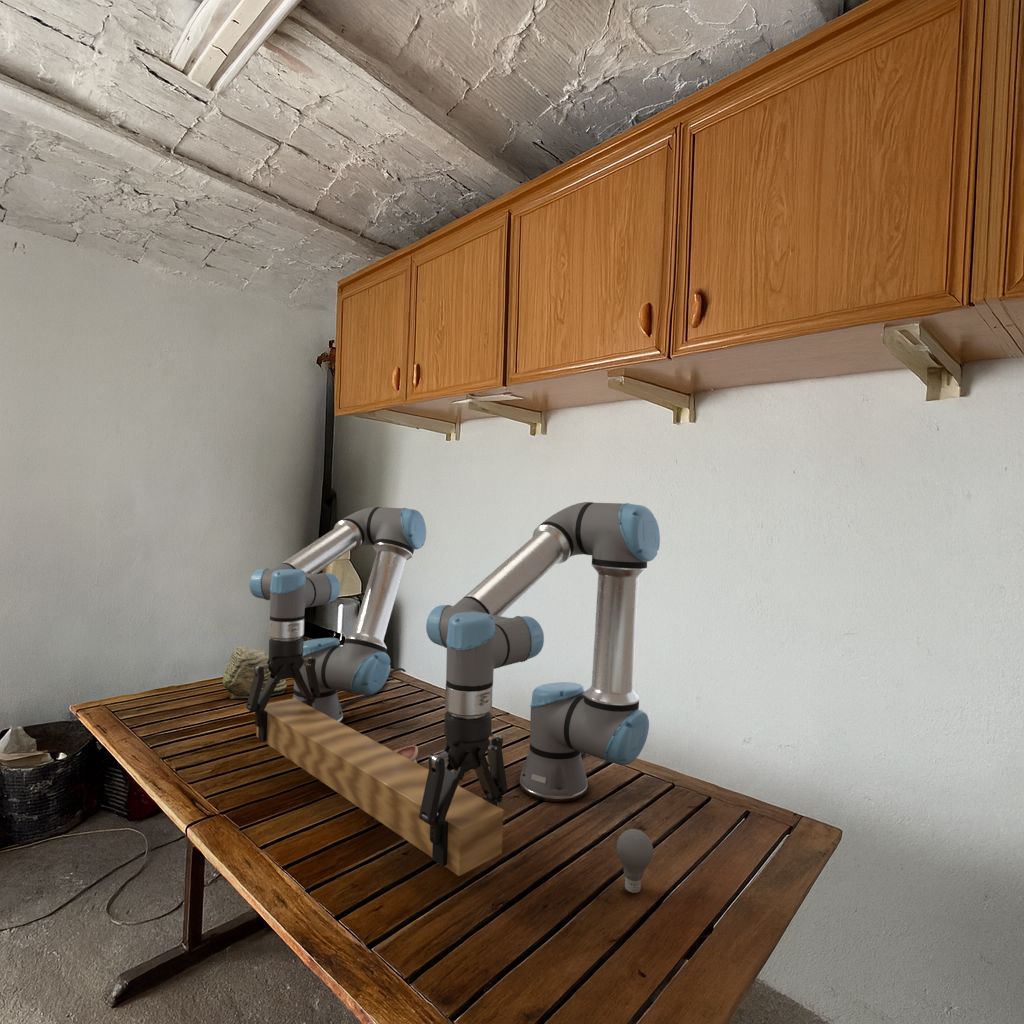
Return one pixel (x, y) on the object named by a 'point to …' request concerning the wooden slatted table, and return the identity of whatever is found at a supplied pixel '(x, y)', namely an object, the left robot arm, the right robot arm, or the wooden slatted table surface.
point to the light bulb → (634, 857)
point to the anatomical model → (408, 752)
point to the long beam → (382, 783)
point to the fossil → (246, 672)
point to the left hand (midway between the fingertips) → (283, 734)
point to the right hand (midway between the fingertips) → (463, 850)
